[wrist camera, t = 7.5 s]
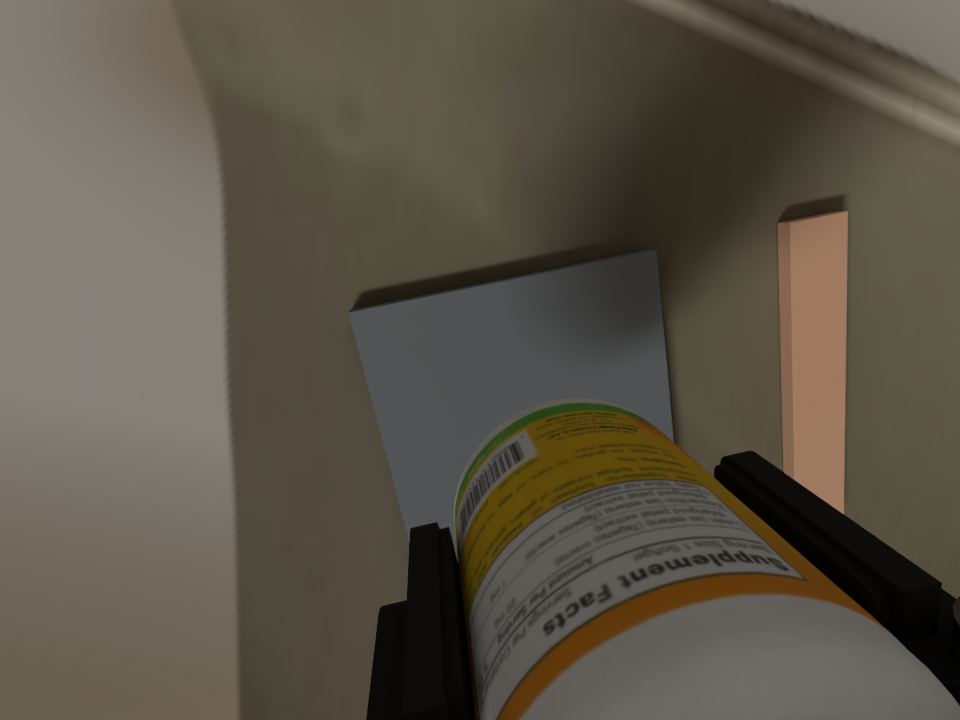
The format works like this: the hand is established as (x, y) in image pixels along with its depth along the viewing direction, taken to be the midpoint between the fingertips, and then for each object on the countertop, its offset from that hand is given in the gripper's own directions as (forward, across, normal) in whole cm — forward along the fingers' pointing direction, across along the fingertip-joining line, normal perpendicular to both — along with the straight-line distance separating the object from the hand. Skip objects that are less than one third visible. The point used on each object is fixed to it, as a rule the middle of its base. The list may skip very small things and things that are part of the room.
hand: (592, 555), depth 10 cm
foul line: (+8, -11, +1) cm, 13 cm away
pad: (+8, 0, 0) cm, 8 cm away
